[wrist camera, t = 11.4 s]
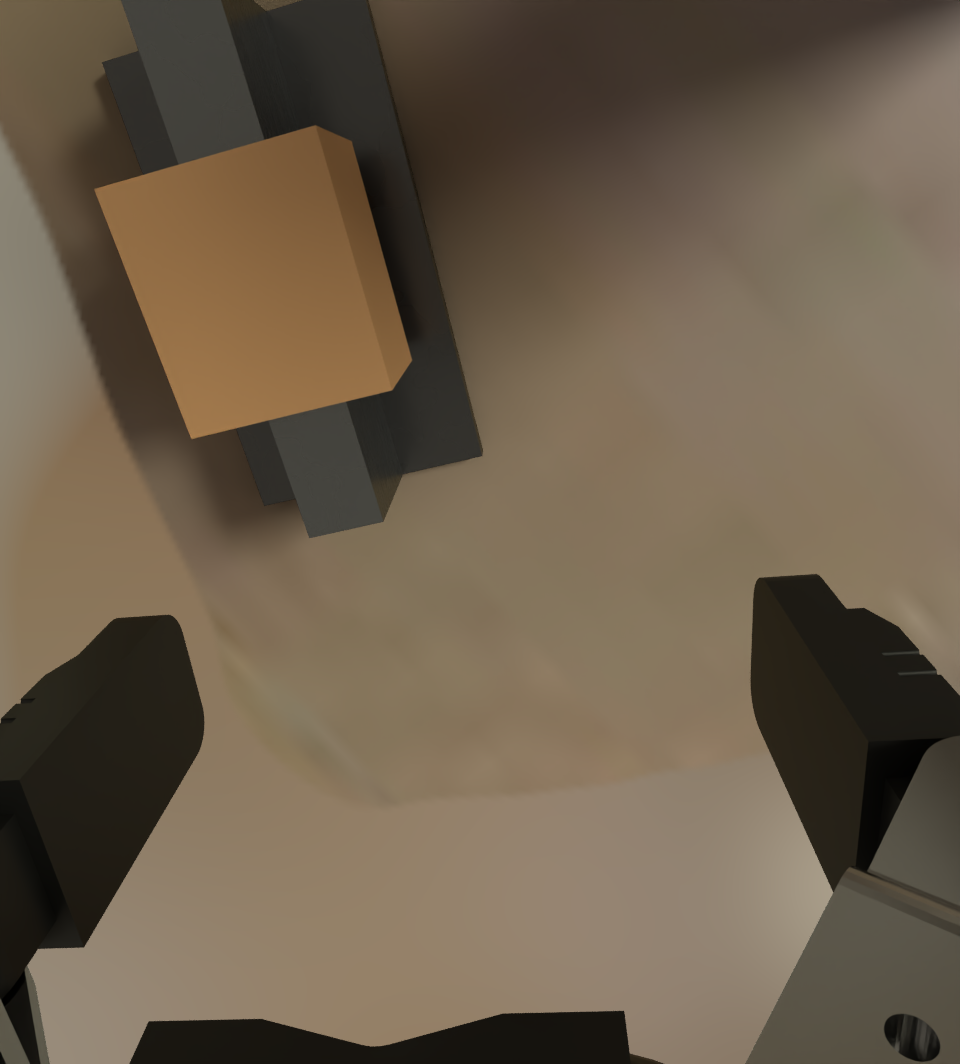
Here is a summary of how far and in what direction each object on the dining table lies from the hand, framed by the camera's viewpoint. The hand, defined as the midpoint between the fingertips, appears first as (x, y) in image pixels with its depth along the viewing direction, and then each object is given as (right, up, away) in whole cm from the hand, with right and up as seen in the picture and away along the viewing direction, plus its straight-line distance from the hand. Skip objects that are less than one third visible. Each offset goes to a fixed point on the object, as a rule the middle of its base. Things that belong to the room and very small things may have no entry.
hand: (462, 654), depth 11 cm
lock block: (-6, +10, +16) cm, 19 cm away
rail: (-6, +11, +18) cm, 22 cm away
